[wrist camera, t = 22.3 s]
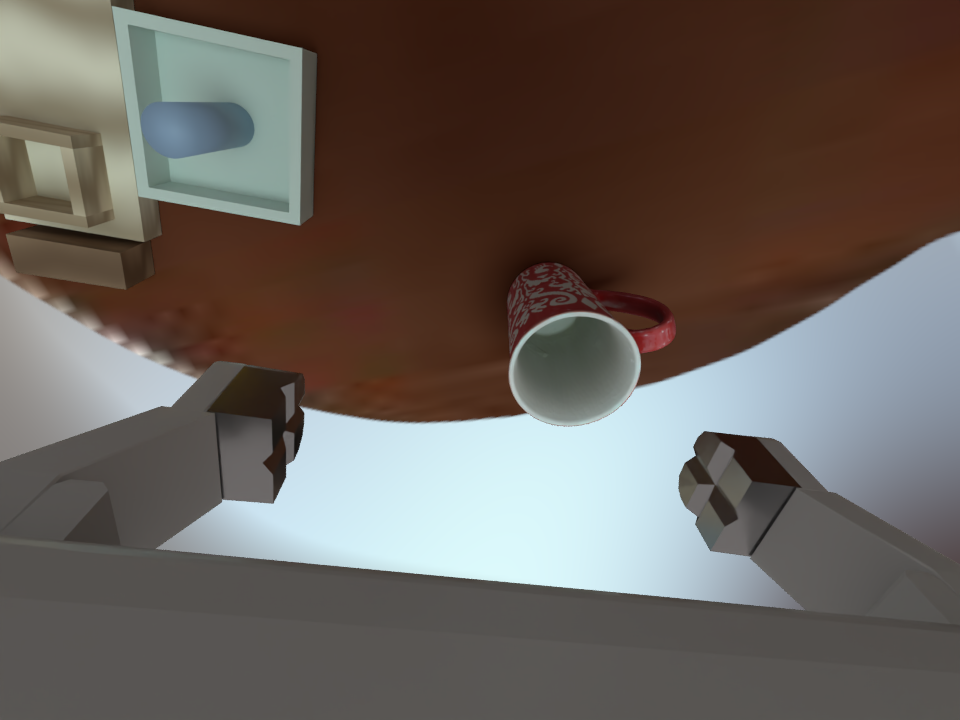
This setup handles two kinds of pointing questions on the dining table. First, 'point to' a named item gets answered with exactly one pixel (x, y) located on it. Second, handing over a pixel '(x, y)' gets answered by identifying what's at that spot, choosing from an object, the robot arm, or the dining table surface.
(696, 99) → the dining table surface
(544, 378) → the mug
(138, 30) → the tray
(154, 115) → the dowel
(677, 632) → the robot arm
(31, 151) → the board
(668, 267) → the dining table surface
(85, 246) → the block
